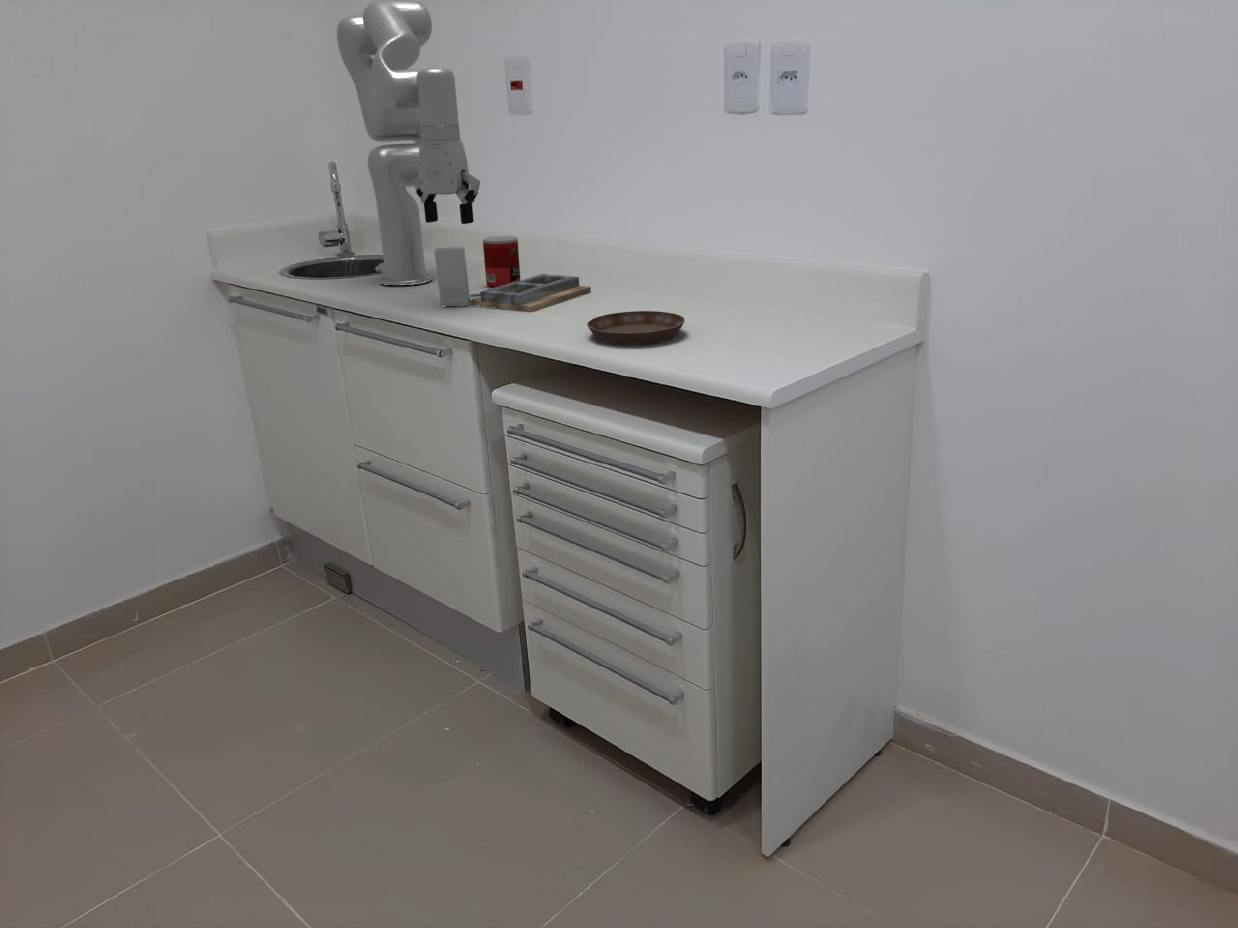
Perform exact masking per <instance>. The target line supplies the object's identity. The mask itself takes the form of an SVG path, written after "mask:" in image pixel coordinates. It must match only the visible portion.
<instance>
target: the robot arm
mask: <svg viewBox="0 0 1238 928" xmlns="http://www.w3.org/2000/svg"><path fill="white" fill-rule="evenodd" d="M432 31H433V23H432V17H431V14H430V12H429V10H428V8H427V6H425V4H423V3H422V2H420V1H418V0H375V1H371V2H370V3H368V4H367V5H366V7H365V8H364V10H363V12H362V14H355V15H349V16H346V17H344V18H342V19H341V20H340V21H339V22H338V24H337V27H336V41H337V46H338V50H339V54H340V57H341V60H342V62H343V64H344V66H345V68H346V70H347V72H348V74H349V75H350V77H351V80H352V81H353V84H354V87H355V91H356V95H357V98H358V103H359V106H360V112H361V115H362V118H363V122H364V127H365V131H366V132H367V135H368V136H369V138H370V139H371V140H373V141H375V142H380V143H382V142H387V143H389V142H391V143H392V142H406V141H407V142H408V141H409V142H410V141H413V142H414V143H395V144H394V143H393V144H390V143H389V144H383V145H379V146H376V147H374V148H373V149H371V150H370V151H369V153H368V155H367V168H368V173H369V175H370V179H371V183H372V187H373V190H374V191H373V192H374V195H375V200H376V208H377V209H376V210H377V216H378V224H379V233H380V240H381V249H382V256H383V257H382V258H383V262H380V263H379V264H378V265H376V266H375V268H374V269H375V271H376V272H380V273H382V276H381V277H380V278H379V284H380V283H382V284H388V285H397V284H398V285H400V284H412V283H420V282H424V281H428V280H431V279H432V278H433V275H432V274H431V273H427V272H426V265H425V257H424V256H425V255H424V246H423V236H422V227H421V217H420V209H419V205H418V202H417V201H416V199H415V198H414V197H413V196H412V195H411V194H410V192H408V190H407V188H410V187H414V189H415V193H416V195H417V196H418V197H419V198H420V203H422V204H423V212H424V220H425V223H426V224H427V223H428V224H429V223H430V224H431V223H434V222H435V223H436V222H438V221H439V216H438V215H439V214H438V206H437V205H438V203H437V201H434V200H435V198H436V197H437V195H454V194H455V195H456V196H457V198H458V199H459V201H460V202H461V203H460V204H459V214H460V222H461V224H462V225H467V224H468V225H469V224H473V223H474V221H475V220H474V209H473V203H475V201H476V198H477V196H478V194H479V192H478V191H479V189H480V185H481V181H480V179H478V178H476V177H475V176H473V175H472V174H470V173H469V172H470V171H469V165H468V159H467V154H466V151H465V147H464V144H463V141H462V140H461V133H460V132H461V131H460V123H459V114H458V113H459V111H458V110H459V109H458V101H457V92H456V89H457V88H456V87H457V86H456V80H455V79H456V78H455V75H454V72H453V71H452V70H451V69H449V68H424V69H423V68H422V69H420V68H419V69H418V68H416V69H413V68H412V69H409V68H410V67H412V66H414V64H416V62H417V60H418V59H419V57H420V53H421V48H422V47H423V46H424V45H425V44H426V43H427V42H428V41H429V39H430V37H431V35H432ZM372 56H373V57H372Z"/></svg>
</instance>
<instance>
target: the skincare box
mask: <svg viewBox="0 0 1238 928" xmlns="http://www.w3.org/2000/svg"><path fill="white" fill-rule="evenodd" d="M465 250H466V249H465V246H452V247H451V246H448V247H436V248H435V250H434V258H435V267H436V273H437V274H436V275H437V281H438V290H439V298H440V300H439V301H440V306H459V307H468V306H470V305H471V303H470V295H469V293H470V288H469V280H468V279H469V278H468V271H467V268H468V267H467V260H466V253H465V252H466V251H465ZM469 304H470V305H469Z"/></svg>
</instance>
